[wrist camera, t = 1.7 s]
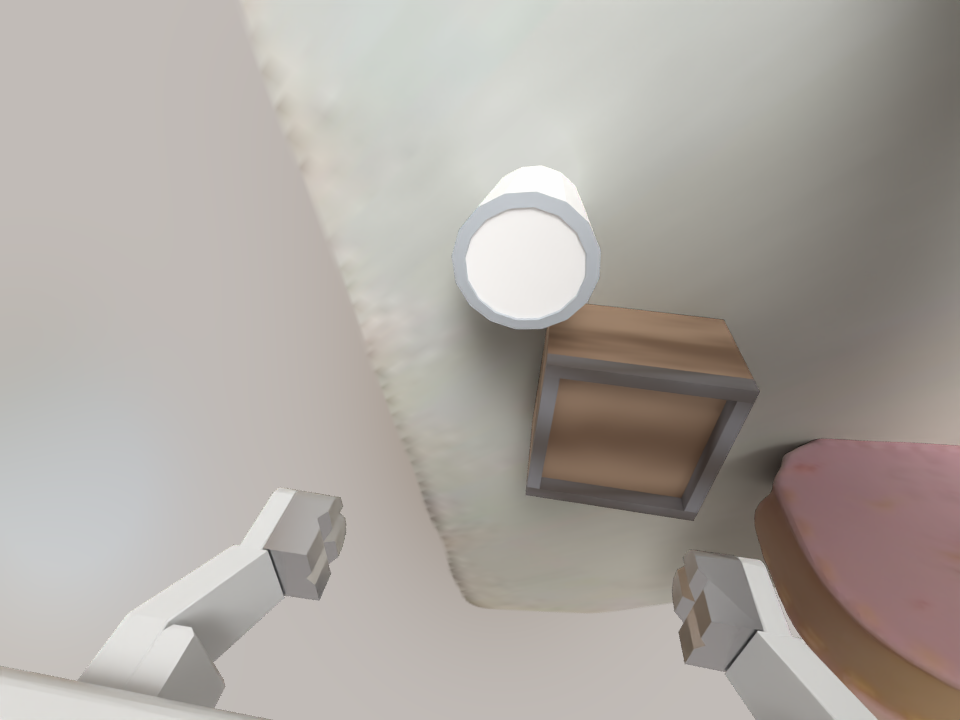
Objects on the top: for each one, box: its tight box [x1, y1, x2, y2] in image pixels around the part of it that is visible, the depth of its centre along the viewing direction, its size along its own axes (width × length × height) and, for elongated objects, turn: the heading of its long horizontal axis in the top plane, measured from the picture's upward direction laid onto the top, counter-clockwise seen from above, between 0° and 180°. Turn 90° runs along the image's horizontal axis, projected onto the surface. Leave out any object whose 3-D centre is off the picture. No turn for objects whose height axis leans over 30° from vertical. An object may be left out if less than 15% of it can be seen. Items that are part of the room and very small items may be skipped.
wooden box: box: [526, 304, 760, 521], centre depth 30 cm, size 11×11×7 cm
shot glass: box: [452, 166, 601, 329], centre depth 25 cm, size 7×7×7 cm
